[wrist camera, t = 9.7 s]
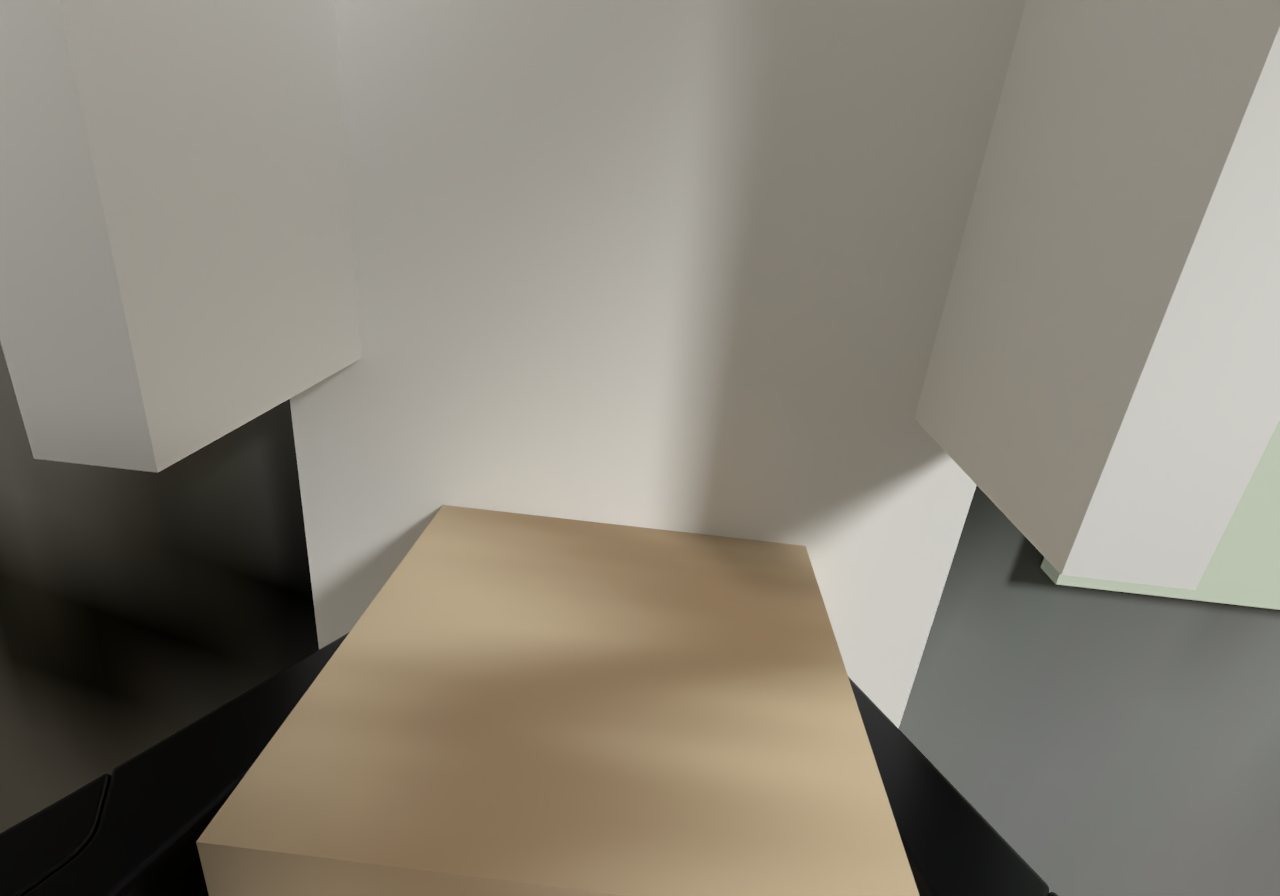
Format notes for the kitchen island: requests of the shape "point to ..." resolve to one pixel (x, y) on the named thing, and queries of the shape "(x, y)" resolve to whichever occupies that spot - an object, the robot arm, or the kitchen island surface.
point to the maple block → (571, 730)
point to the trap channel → (665, 271)
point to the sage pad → (1228, 549)
